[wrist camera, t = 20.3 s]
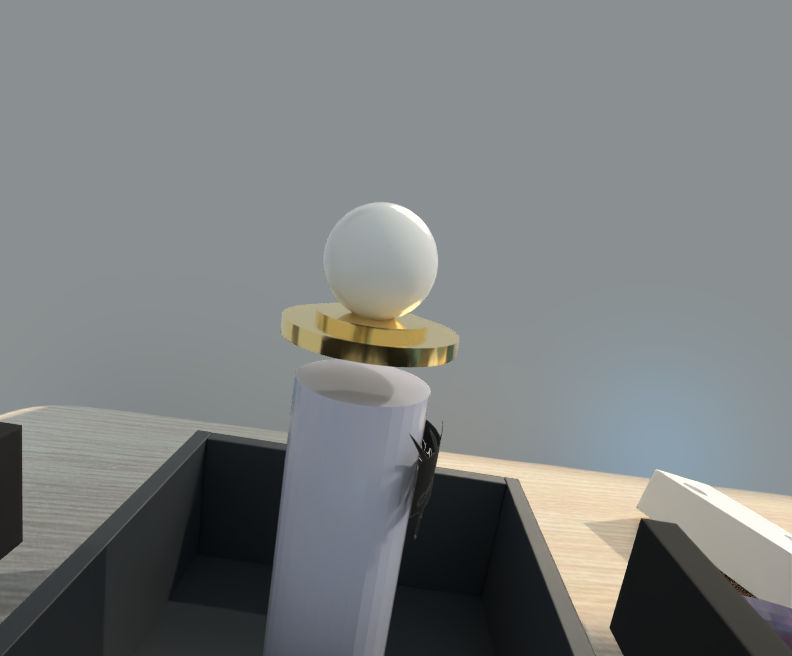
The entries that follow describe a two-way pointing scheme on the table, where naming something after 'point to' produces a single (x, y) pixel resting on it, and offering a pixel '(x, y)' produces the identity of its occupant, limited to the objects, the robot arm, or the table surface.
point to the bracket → (725, 534)
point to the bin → (253, 564)
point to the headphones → (774, 617)
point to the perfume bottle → (356, 438)
